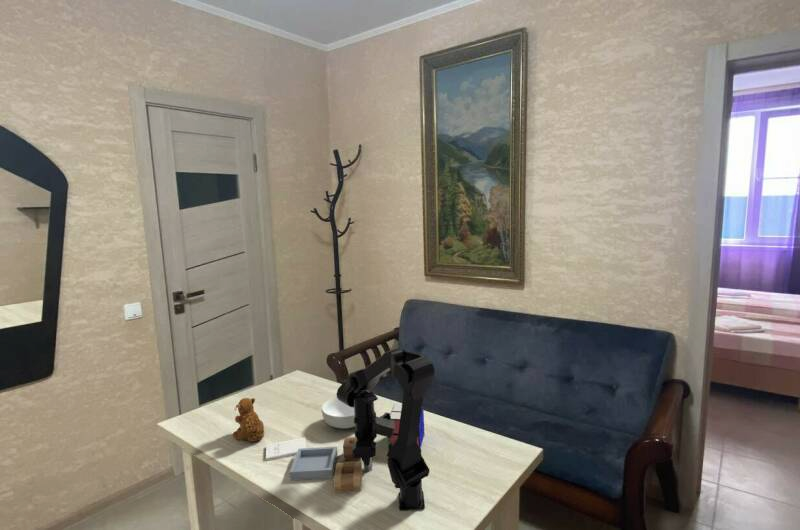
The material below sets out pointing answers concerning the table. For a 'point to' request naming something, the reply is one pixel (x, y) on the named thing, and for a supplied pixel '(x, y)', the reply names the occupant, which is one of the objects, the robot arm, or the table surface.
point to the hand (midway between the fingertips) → (367, 462)
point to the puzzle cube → (396, 417)
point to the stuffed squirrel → (248, 422)
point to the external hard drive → (284, 448)
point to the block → (349, 449)
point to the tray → (314, 463)
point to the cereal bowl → (338, 414)
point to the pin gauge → (368, 468)
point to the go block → (348, 477)
